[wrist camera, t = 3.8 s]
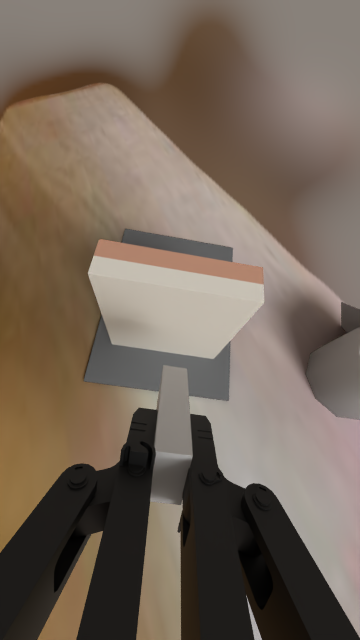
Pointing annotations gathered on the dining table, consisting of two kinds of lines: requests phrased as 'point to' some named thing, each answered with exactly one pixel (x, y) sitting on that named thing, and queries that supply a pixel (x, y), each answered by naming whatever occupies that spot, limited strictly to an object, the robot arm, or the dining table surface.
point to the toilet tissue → (339, 368)
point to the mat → (147, 365)
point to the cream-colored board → (172, 298)
